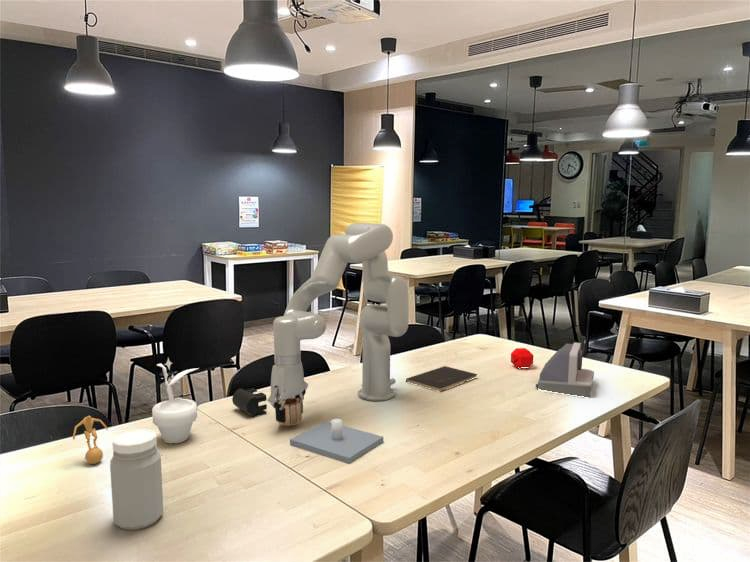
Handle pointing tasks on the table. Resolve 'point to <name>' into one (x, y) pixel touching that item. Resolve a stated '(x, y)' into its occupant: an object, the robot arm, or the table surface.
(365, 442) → the post stand
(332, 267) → the robot arm
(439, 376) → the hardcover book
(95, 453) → the figurine
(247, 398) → the end cap
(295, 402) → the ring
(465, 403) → the table surface
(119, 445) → the jar
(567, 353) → the grey angular piece
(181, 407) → the potted plant
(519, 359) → the ball
